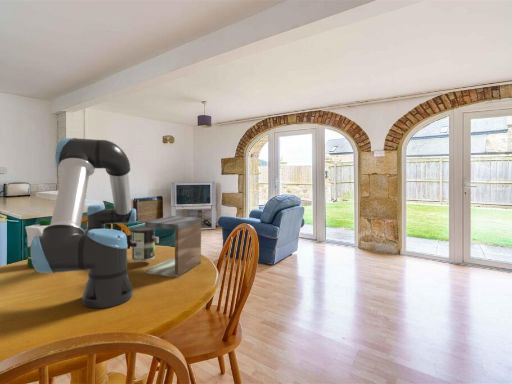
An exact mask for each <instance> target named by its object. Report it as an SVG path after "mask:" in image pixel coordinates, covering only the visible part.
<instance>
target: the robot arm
mask: <svg viewBox="0 0 512 384" xmlns="http://www.w3.org/2000/svg"><path fill="white" fill-rule="evenodd" d="M54 159H55V163H56V165H57V167H59V169H60V171H62V173H61V178H60V182H59V187H58V191H57V194H56V199H55V204H54V207H53V211H52V217H51V219H50V222H51V223H50V225H49V226H47V227H45V228H44V230H43V233H42V236H40V235H39V236H36V237H34V239H33V240H32V243H31V260H32V264H33V266H34V267H33V268H34V269H35V271H36V272H37V273H40V274H56V273H65V272H78V271H79V272H81V271H88V273H87V274H88V277H87V278H88V279H87V281H86V285H85V287H84V291H83V294H82V300H81V301H82V305H83V306H84V307H86V308H90V309H103V308H104V309H105V308H111V307H116V306H119V305H121V304H124V303H126V302H128V301H129V300H130V299H132V297H133V292H134V290H133V286H132V284H131V281H130V278H129V275H128V250H129V249H131V248H132V247H134V248H144V242H138V241H132V233H131V234H129V235H128V234H126V233H125V232H123V231H121V230H118V229H111V228H105V227H106V225H115V224H117V225H119V224H121V225H123V224H124V225H127V224H134V223H136V221H137V209H136V208H133V207H132V201H131V190H130V178H129V173H130V172H131V164H130V160H129V158H128V156H127V154H126V152H125V151H124V150H123V149H122V148H121V147H120V146H119V145H117V144H116V143H114V142H113V141H110V140H107V139H92V138H91V139H90V138H77V137H69V138H67V137H65V138H62V139H61V140H60V141H59V142H58V143H57V145H56V148H55V155H54ZM95 169H105V172H106V174H108V176H109V183H110V189H111V194H112V201H113V207H114V208H106V207H105V205H104V204H92V205H88V207H87V210H86V213H87V214H86V218H87V219H86V220H87V221H86V223H87V228H86V229H83V228H82V220H83V213H84V208H85V203H86V202H85V201H86V197H87V190H88V184H89V178H90V176H92V175H93V174H94V173H95ZM159 241H160V238H159V236H155V244H159Z"/></svg>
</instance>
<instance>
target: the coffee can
mask: <svg viewBox="0 0 512 384" xmlns="http://www.w3.org/2000/svg"><path fill="white" fill-rule="evenodd" d="M130 231H131V234H132V241H138V242H144V248H134V247H131V261H133V262H134V261H135V262H146V261H150V260H153V259H155V258H156V249H155V247H156V246H155V244H156V243H155V237H156V236H155V235H156V233H155V231H156V228H154V227H145V226H135V227H133V228H131V230H130Z"/></svg>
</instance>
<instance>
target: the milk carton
mask: <svg viewBox="0 0 512 384" xmlns="http://www.w3.org/2000/svg"><path fill="white" fill-rule="evenodd" d="M50 224H51V219H41V220H39V224H32V225H28V226H24V227H25V232H26V236H27V237H26V239H27V267H30V268H34V266H33V264H32V260H31V243H32V240H33V239H34V237H36V236H39V235H40V236H42V233H43V230H44V228H45V227H47V226H49V225H50Z"/></svg>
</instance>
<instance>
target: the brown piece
mask: <svg viewBox="0 0 512 384" xmlns="http://www.w3.org/2000/svg"><path fill="white" fill-rule="evenodd" d="M144 222H145V223H144V227H154V228H155V229H156V228H157V229H166V230H174V257H169V258H168V259H166V260H164V261H162V262H160V263H158V264H156V265H153V266H152V267H150V268H147V269H145V270H144V273H146V274H149V275H150V274H151V275H158V276H164V277H171V278H180V277H181V276H183V275H185V274H186V273H188V272H189V271H191V270H192V269H194V268H195V266H196V265H197V266H199V265H200V264H202V261H201V260H202V258H201V257H202V217H193V216H181V215H169V216H165V217H160V218H156V219H152V220H148V221H144ZM199 263H200V264H199ZM198 264H199V265H198ZM197 266H196V267H197ZM193 267H194V268H193Z"/></svg>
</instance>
